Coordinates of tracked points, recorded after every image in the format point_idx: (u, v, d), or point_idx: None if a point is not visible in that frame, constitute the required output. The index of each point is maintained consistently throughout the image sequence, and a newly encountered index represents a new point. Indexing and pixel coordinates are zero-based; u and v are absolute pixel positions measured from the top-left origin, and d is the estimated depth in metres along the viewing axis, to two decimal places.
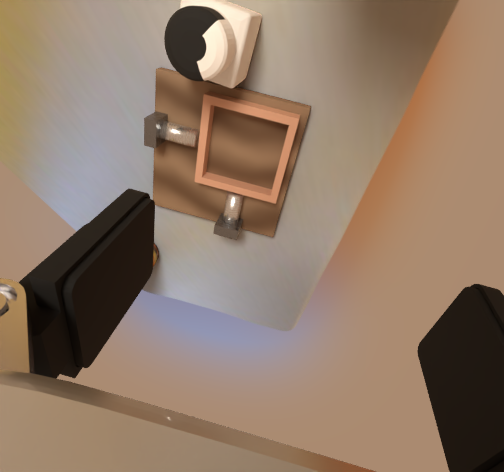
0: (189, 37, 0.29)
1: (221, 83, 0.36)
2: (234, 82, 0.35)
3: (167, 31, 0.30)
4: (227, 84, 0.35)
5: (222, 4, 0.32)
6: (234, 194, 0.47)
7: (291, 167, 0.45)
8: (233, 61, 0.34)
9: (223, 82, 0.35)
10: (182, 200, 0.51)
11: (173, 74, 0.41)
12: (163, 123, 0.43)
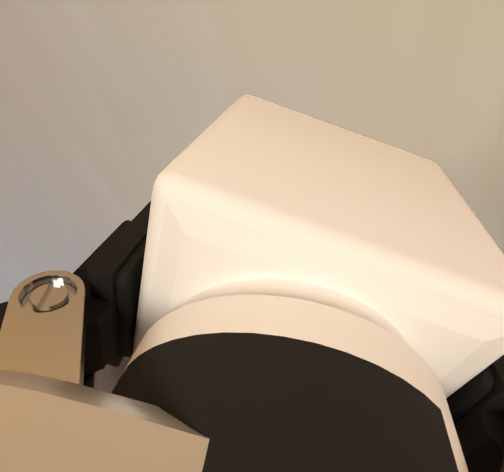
0: None
1: None
2: None
3: None
4: None
5: (387, 257, 0.05)
6: None
7: None
8: None
9: None
10: None
11: None
12: None
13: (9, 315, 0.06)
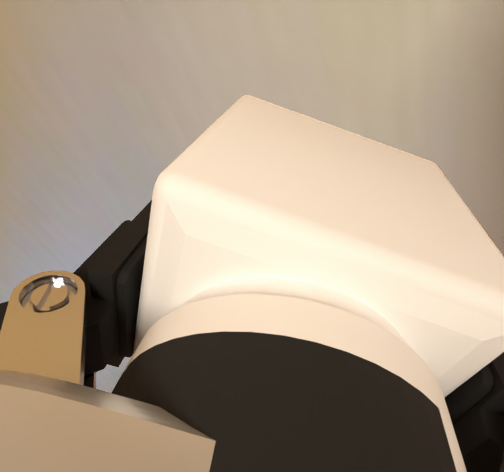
0: None
1: None
2: None
3: None
4: None
5: (385, 257, 0.06)
6: None
7: None
8: None
9: None
10: None
11: None
12: None
13: (9, 315, 0.06)
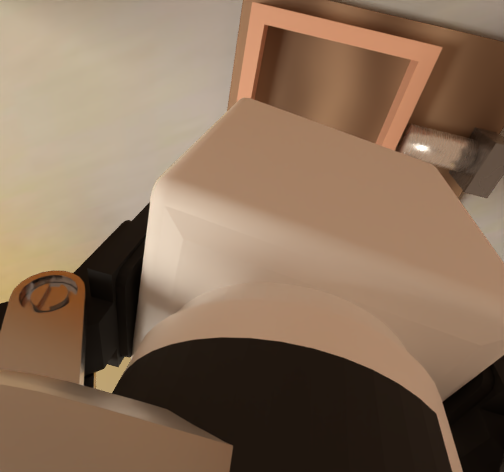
0: None
1: None
2: None
3: None
4: None
5: (383, 262, 0.05)
6: (404, 142, 0.24)
7: (363, 13, 0.21)
8: None
9: None
10: None
11: None
12: None
13: (9, 315, 0.06)
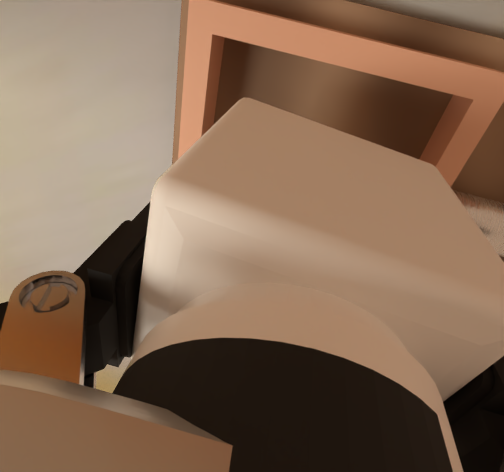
0: None
1: None
2: None
3: None
4: None
5: (384, 262, 0.05)
6: None
7: (379, 16, 0.13)
8: None
9: None
10: None
11: None
12: None
13: (9, 315, 0.06)
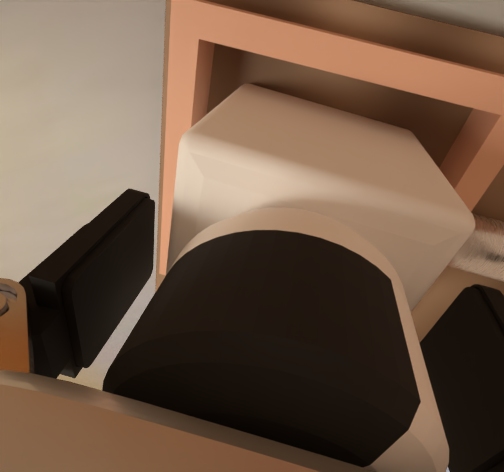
0: None
1: None
2: None
3: None
4: None
5: (353, 184, 0.07)
6: None
7: (391, 18, 0.11)
8: None
9: None
10: None
11: None
12: None
13: None
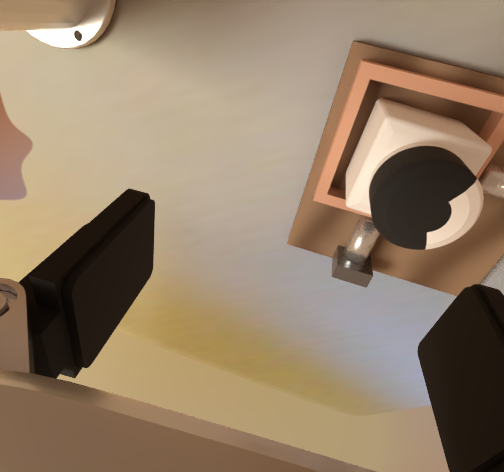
0: (424, 203, 0.19)
1: None
2: None
3: (384, 192, 0.19)
4: None
5: (448, 135, 0.21)
6: (482, 179, 0.27)
7: (455, 70, 0.25)
8: None
9: None
10: (472, 258, 0.33)
11: (293, 227, 0.36)
12: (345, 255, 0.34)
13: None
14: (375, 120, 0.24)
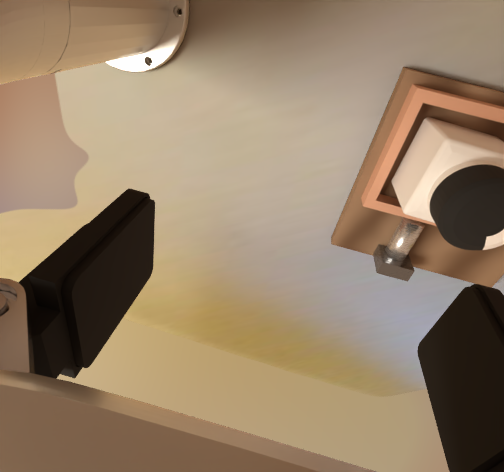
0: (487, 214, 0.23)
1: None
2: None
3: (452, 204, 0.23)
4: None
5: (498, 153, 0.25)
6: None
7: (494, 94, 0.29)
8: None
9: None
10: (498, 252, 0.37)
11: (338, 229, 0.39)
12: (387, 253, 0.38)
13: None
14: (428, 139, 0.28)
